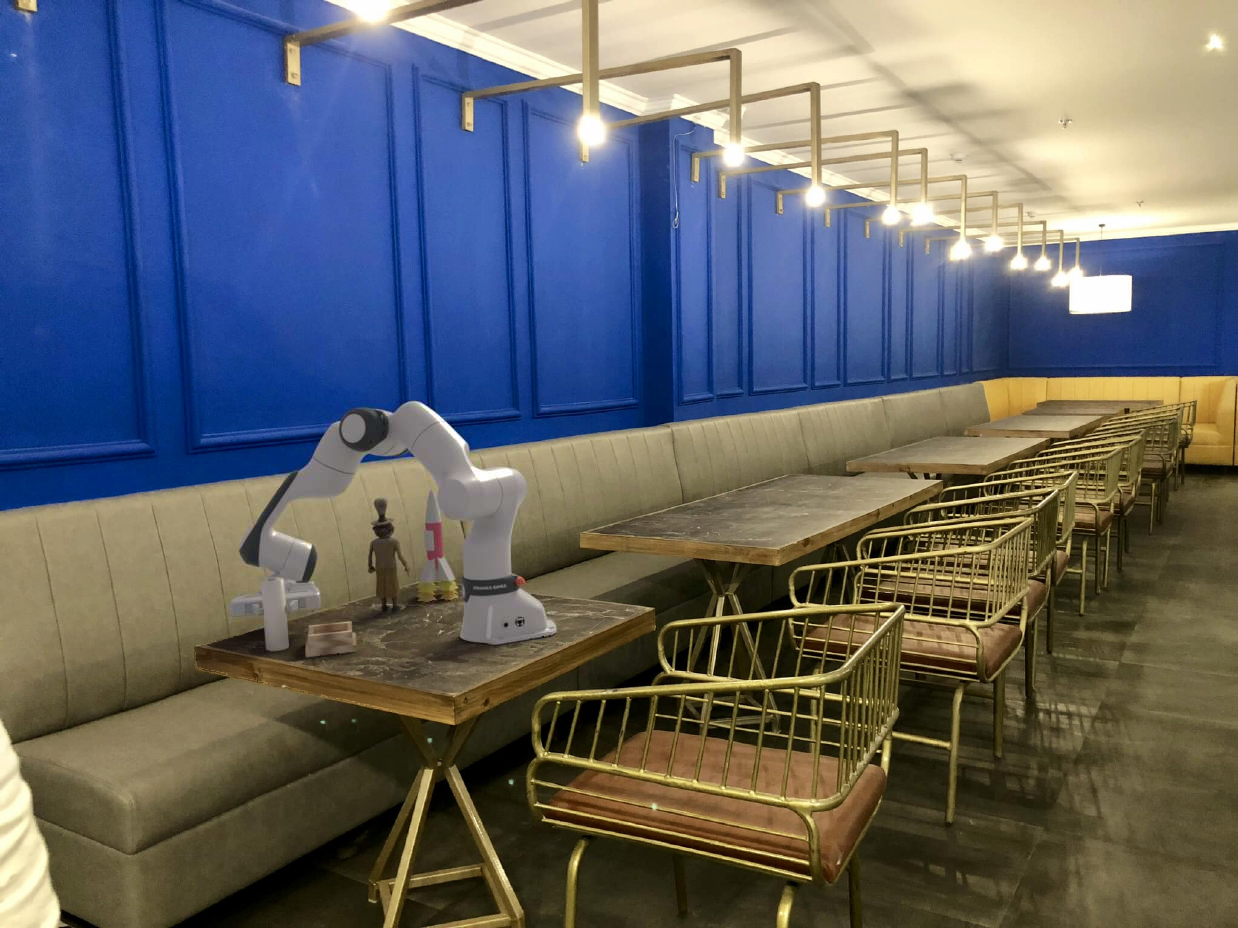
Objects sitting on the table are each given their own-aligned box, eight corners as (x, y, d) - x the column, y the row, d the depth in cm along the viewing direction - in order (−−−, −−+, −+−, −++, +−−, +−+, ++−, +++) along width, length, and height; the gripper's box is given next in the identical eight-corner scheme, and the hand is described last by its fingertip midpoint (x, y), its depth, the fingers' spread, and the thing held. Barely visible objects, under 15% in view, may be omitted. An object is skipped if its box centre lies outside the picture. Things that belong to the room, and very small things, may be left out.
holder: (355, 638, 233) (354, 620, 233) (356, 651, 223) (355, 631, 222) (307, 644, 230) (305, 625, 230) (305, 657, 220) (304, 637, 219)
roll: (289, 643, 231) (284, 575, 229) (288, 649, 226) (283, 580, 224) (266, 646, 230) (261, 577, 228) (265, 652, 225) (260, 582, 223)
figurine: (417, 605, 263) (411, 494, 260) (405, 615, 254) (398, 499, 251) (377, 606, 265) (370, 495, 261) (364, 615, 255) (356, 500, 252)
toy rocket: (435, 590, 280) (429, 485, 277) (468, 594, 274) (462, 487, 271) (406, 600, 270) (399, 491, 267) (439, 604, 264) (433, 492, 261)
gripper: (230, 588, 236) (224, 601, 223) (320, 580, 242) (319, 592, 229) (233, 614, 237) (227, 628, 224) (322, 605, 242) (321, 619, 229)
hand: (274, 610), depth 226 cm, fingers closed on roll, 5 cm apart
